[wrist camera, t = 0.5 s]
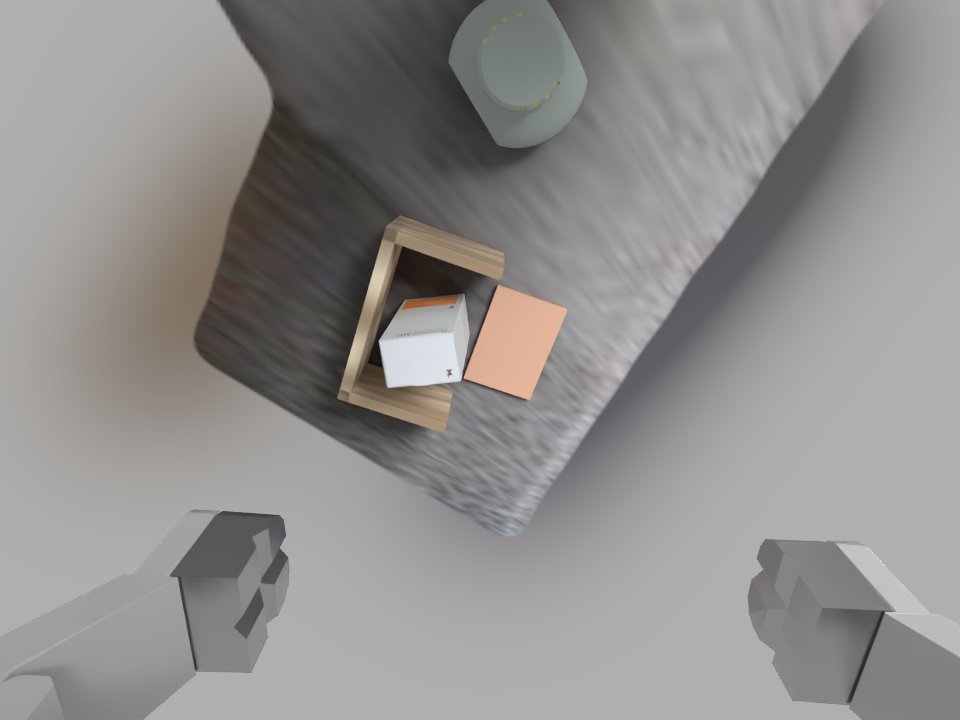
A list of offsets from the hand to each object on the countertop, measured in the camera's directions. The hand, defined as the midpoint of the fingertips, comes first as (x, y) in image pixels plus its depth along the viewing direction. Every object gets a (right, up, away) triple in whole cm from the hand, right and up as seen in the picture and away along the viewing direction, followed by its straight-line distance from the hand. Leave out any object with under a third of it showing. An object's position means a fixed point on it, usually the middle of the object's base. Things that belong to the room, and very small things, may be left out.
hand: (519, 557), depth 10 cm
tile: (+3, +5, +46) cm, 46 cm away
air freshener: (+2, +27, +37) cm, 46 cm away
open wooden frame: (-5, +8, +45) cm, 46 cm away
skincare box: (-5, +8, +45) cm, 46 cm away
